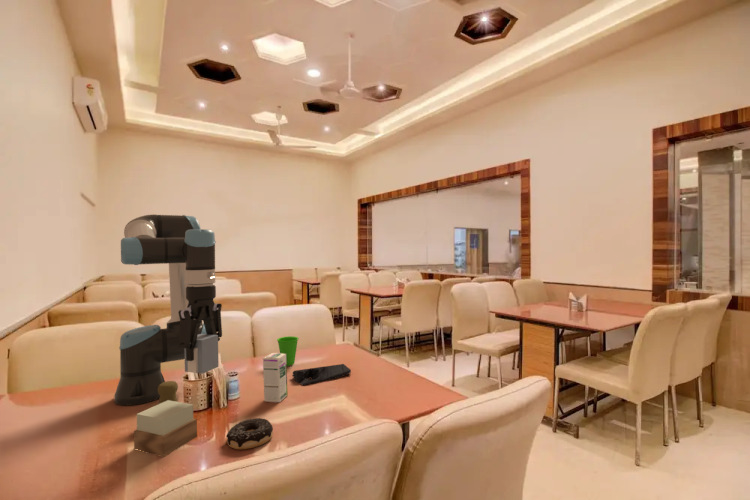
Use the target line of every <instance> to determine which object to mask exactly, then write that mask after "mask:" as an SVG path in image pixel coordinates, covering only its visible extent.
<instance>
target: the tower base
mask: <svg viewBox="0 0 750 500" xmlns="http://www.w3.org/2000/svg"><path fill="white" fill-rule="evenodd" d="M197 423H198V420H197V418H194V417H193V420H192V421H190V422H188V423H186V424H184V425H183V426H181V427H179V428H177V429H175V430H173V431H171V432H169V433H168V434H166V435H164V436H162V435H157V434H153V433H148V432H144V431H139V430H137V429H135V430H133V449H138V450H141V451H140V452H142V451H144V452H143V453H146V452H147V454H150V453H151V455H155V456H160V457H166V456H168V455H170V454H171V453H173V452H174V451H176V450H178V449H179V448H181V447H182V446H184V445H186V444H188V443H190V442H191V441H192V440H194V439H196V438H197V437H198V424H197ZM138 450H137V451H138Z"/></svg>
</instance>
